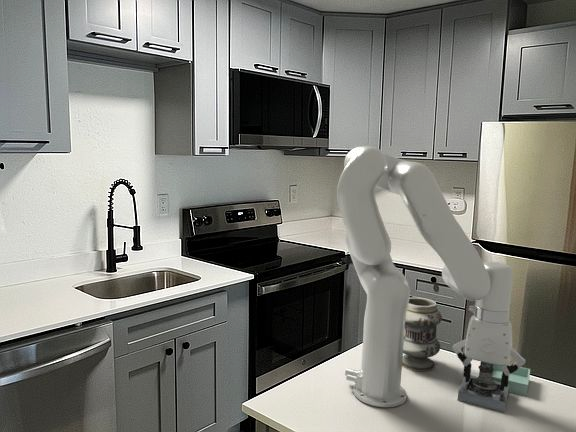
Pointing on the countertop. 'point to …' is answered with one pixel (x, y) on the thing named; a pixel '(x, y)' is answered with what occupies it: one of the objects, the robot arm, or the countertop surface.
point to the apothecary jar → (420, 334)
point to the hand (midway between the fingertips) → (484, 383)
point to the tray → (514, 379)
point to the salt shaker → (485, 380)
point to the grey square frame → (483, 396)
